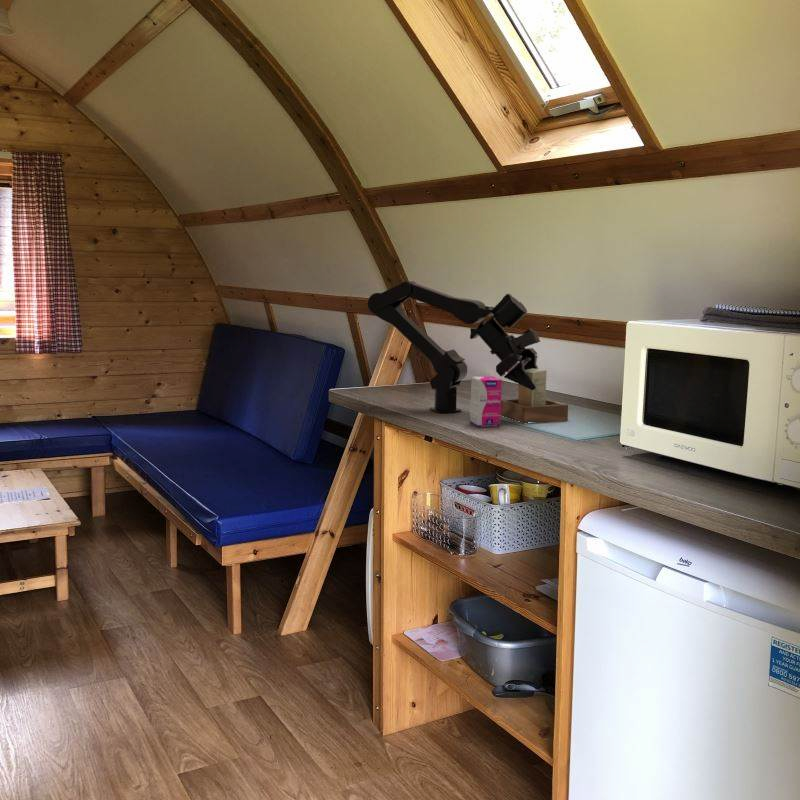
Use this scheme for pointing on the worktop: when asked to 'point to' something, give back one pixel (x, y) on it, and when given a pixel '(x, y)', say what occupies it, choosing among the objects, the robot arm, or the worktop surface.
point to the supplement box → (485, 401)
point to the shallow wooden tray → (534, 411)
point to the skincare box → (536, 395)
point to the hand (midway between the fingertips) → (539, 386)
